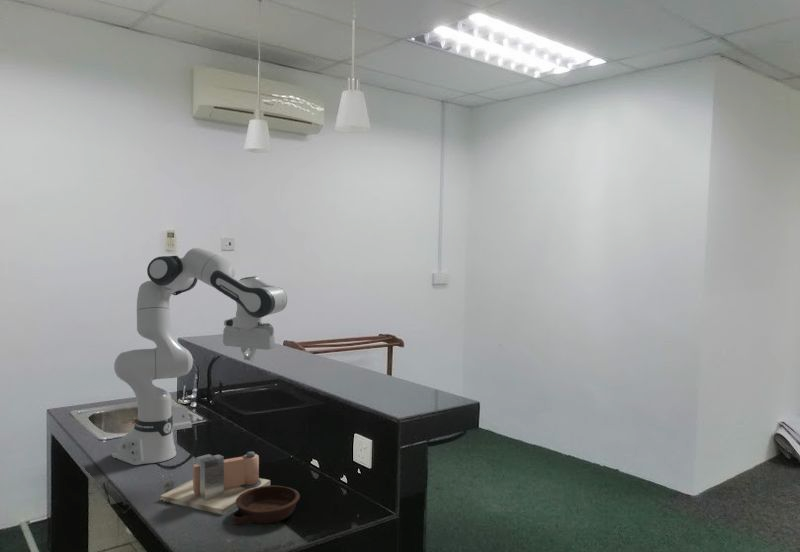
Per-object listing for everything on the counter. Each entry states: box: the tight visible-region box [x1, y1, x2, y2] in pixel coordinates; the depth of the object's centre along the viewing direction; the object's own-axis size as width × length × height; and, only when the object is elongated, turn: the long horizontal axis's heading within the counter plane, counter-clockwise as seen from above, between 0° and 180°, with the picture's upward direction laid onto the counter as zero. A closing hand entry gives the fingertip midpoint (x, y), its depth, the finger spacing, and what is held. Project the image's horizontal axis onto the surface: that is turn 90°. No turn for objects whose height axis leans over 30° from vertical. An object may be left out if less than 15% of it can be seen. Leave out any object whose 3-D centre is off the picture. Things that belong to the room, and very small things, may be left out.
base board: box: [159, 477, 271, 516], centre depth 180 cm, size 23×23×2 cm
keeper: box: [196, 453, 225, 500], centre depth 174 cm, size 6×5×12 cm
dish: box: [231, 484, 301, 525], centre depth 166 cm, size 18×22×5 cm
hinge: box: [171, 405, 193, 431], centre depth 242 cm, size 17×5×10 cm, turn 127°
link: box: [192, 451, 260, 494], centre depth 179 cm, size 20×5×9 cm, turn 120°
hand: (248, 360), depth 210 cm, fingers closed
